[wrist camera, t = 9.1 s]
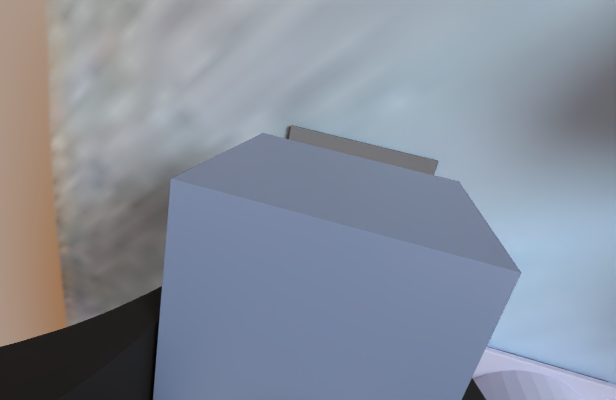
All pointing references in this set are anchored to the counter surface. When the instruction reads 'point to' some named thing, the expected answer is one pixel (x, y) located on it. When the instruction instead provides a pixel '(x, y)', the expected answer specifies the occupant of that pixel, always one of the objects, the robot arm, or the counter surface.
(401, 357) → the blue-gray rectangular block
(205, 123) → the counter surface
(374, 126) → the counter surface
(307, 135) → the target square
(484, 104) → the counter surface
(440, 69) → the counter surface
